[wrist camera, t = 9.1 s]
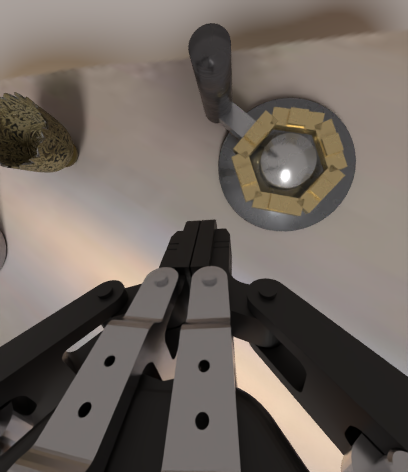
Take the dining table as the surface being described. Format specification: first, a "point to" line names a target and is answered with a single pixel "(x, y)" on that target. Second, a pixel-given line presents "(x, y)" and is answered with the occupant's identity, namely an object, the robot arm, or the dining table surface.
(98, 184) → the dining table surface
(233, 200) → the steel flange
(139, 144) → the dining table surface
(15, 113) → the cup
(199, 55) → the golden ring with handle
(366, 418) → the robot arm
